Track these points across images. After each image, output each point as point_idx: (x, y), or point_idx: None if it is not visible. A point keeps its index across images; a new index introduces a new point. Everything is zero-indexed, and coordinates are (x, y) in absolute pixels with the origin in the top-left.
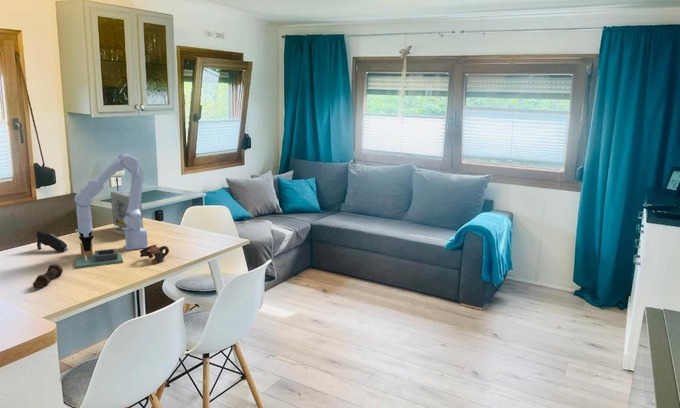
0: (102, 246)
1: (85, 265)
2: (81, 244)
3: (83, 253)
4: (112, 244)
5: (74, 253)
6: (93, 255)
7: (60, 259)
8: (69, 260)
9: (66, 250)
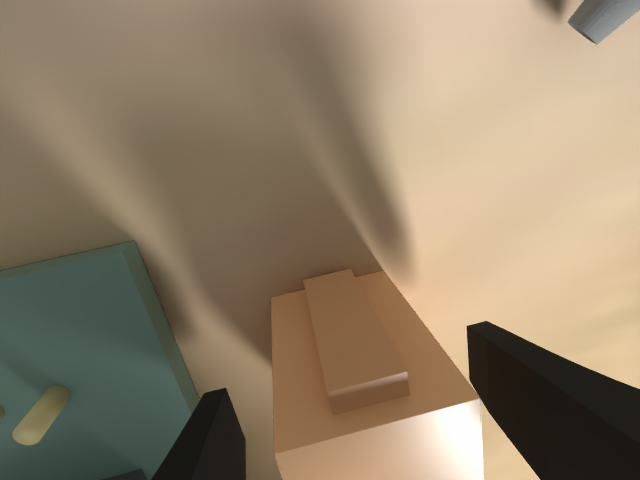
0: None
1: None
2: (330, 398)
3: (275, 325)
4: None
5: (432, 164)
6: None
7: (156, 5)
8: (89, 167)
9: (572, 24)
